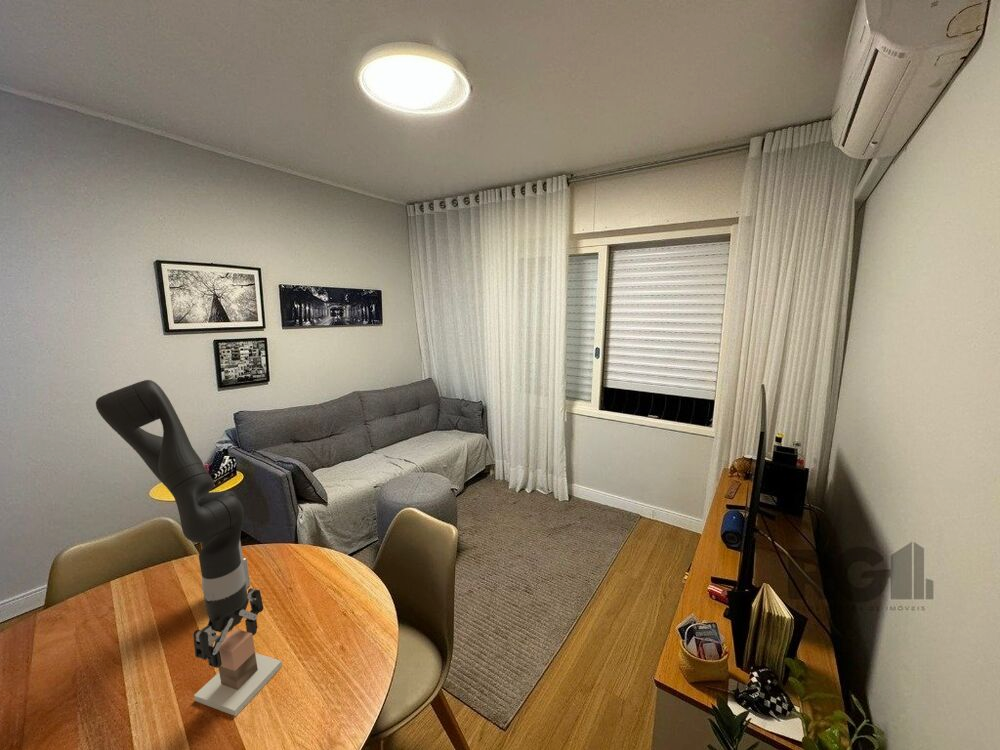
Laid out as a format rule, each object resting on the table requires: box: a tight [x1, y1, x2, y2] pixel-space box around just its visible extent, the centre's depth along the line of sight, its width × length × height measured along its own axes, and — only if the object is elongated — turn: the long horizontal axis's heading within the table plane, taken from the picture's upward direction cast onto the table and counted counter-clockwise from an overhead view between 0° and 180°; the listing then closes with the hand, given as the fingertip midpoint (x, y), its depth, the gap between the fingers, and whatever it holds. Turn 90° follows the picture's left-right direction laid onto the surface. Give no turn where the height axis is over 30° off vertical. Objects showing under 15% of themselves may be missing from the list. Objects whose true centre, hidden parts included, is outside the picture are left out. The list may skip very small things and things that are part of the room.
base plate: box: [193, 652, 283, 717], centre depth 88 cm, size 12×12×2 cm
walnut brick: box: [218, 651, 258, 690], centre depth 88 cm, size 5×5×5 cm
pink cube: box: [218, 628, 256, 671], centre depth 87 cm, size 5×5×5 cm
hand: (235, 649), depth 87 cm, fingers open, 8 cm apart
